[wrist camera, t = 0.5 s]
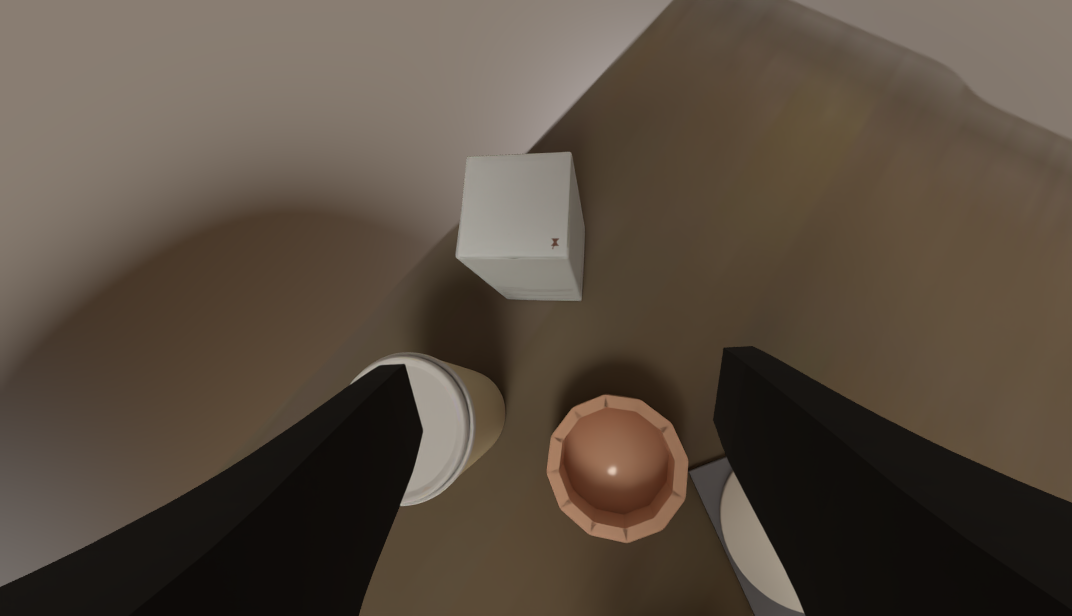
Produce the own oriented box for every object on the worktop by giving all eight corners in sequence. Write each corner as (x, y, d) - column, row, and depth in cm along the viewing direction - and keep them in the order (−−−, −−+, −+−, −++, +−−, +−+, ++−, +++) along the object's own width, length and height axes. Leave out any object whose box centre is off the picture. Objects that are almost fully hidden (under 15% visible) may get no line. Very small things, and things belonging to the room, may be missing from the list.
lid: (926, 579, 28) (981, 613, 24) (766, 633, 29) (792, 674, 25) (836, 418, 30) (871, 424, 26) (692, 473, 32) (705, 486, 27)
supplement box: (586, 225, 37) (576, 148, 25) (582, 303, 36) (569, 261, 24) (510, 225, 39) (465, 152, 26) (503, 300, 37) (452, 259, 25)
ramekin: (699, 495, 32) (712, 511, 28) (582, 539, 32) (579, 560, 29) (645, 377, 34) (649, 376, 30) (537, 420, 35) (528, 425, 31)
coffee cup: (465, 340, 37) (400, 321, 26) (536, 411, 35) (501, 426, 23) (397, 414, 37) (301, 428, 26) (464, 491, 35) (392, 545, 23)
